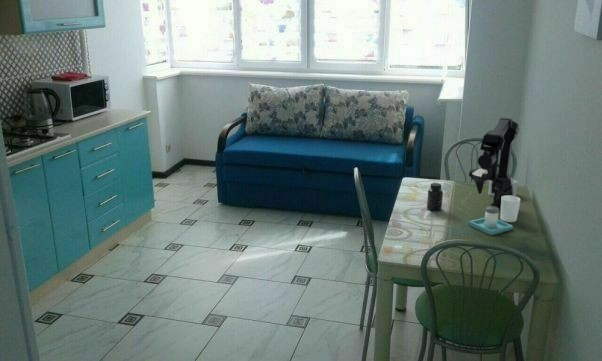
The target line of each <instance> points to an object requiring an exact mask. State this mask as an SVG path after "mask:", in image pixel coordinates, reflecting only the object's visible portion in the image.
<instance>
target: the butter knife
mask: <svg viewBox="0 0 602 361" xmlns="http://www.w3.org/2000/svg"><path fill="white" fill-rule="evenodd" d="M431 213H432V210H425V211H424V215H423V217H422V220H426V218H427V217H428V216H429V215H430V214H431Z"/></svg>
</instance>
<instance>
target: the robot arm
mask: <svg viewBox="0 0 602 361" xmlns="http://www.w3.org/2000/svg"><path fill="white" fill-rule="evenodd" d="M519 132H520V127H519V124H518V123H517V122H515V121H514V120H513V119H512V118H509V117H500V118H499V121H498V123H497V124H496V125H495V127H494V128H493V129H491V130H488V131H487V132H486V133H485V134H484V135H483V138H482V140H481V141H482V142H481V145H480V149H479V150H480V151H483V153H482V154H481V155H479V157H478V159H477V164H478V165H479V167H480V168H475V169H471V170H470V171H469V172H468V173H469V174H468V177H470V179H471V180H472V181H473V182H475V183H474V184H475V185H476V189H477V192H478V194H479V195H480V194H482V192H483V188H484V184H485V182H487V181H493V182H492V193H495V194H494V196H493V200H492V203H490V206H494V207H497V208H499V209H501V197H502V196H506V195H513V187H512V184H511V178H512V177H511V176H510V174H509V172H510V163H511V157H512V156H511V155H512V146H513V142H514V141H515V140H516V139H517V137H518V135H519ZM508 191H509V192H508Z"/></svg>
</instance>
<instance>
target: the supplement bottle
mask: <svg viewBox="0 0 602 361" xmlns="http://www.w3.org/2000/svg"><path fill="white" fill-rule="evenodd" d="M429 186H430V188H429V189H428V191H427V198H426V199H427V200H426V209H427V210H428V211H431V212H432V211H433V212H437V211H438V212H439V211H441V210H442V208H443V199H444V198H443V195H444V191H443V189H442V184H441V183H437V182H432V183H430V185H429Z"/></svg>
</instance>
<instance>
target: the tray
mask: <svg viewBox="0 0 602 361" xmlns="http://www.w3.org/2000/svg"><path fill="white" fill-rule="evenodd" d="M484 221H485V217H481V218H477V219H472V220H469V221H468V226H470V227H471V228H474V229H476V230H478V231H480V232H482V233H484V234H487V235H489V236H494V235H498V234H502V233H505V232H509V231H512V230H513V229H514V228H513V227H514V226H513V225H512V224H509V222H506V221H503V220H501V219H498V221H497V228H494V229H490V228H486V227H484Z"/></svg>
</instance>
